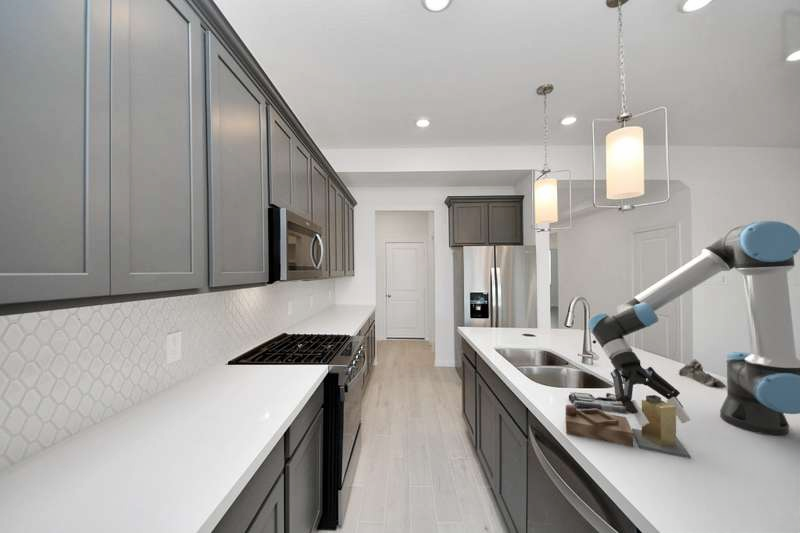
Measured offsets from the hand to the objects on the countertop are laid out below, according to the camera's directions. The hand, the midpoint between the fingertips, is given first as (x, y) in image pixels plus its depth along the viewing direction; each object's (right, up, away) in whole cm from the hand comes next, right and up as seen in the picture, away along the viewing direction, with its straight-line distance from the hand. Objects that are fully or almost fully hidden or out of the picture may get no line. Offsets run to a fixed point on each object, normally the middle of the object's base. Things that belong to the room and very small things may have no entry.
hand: (666, 423), depth 91 cm
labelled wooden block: (0, -6, +2) cm, 7 cm away
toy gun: (-1, -8, +30) cm, 31 cm away
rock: (+61, -8, +55) cm, 82 cm away
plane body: (-14, -7, +9) cm, 18 cm away
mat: (0, -7, +2) cm, 7 cm away
